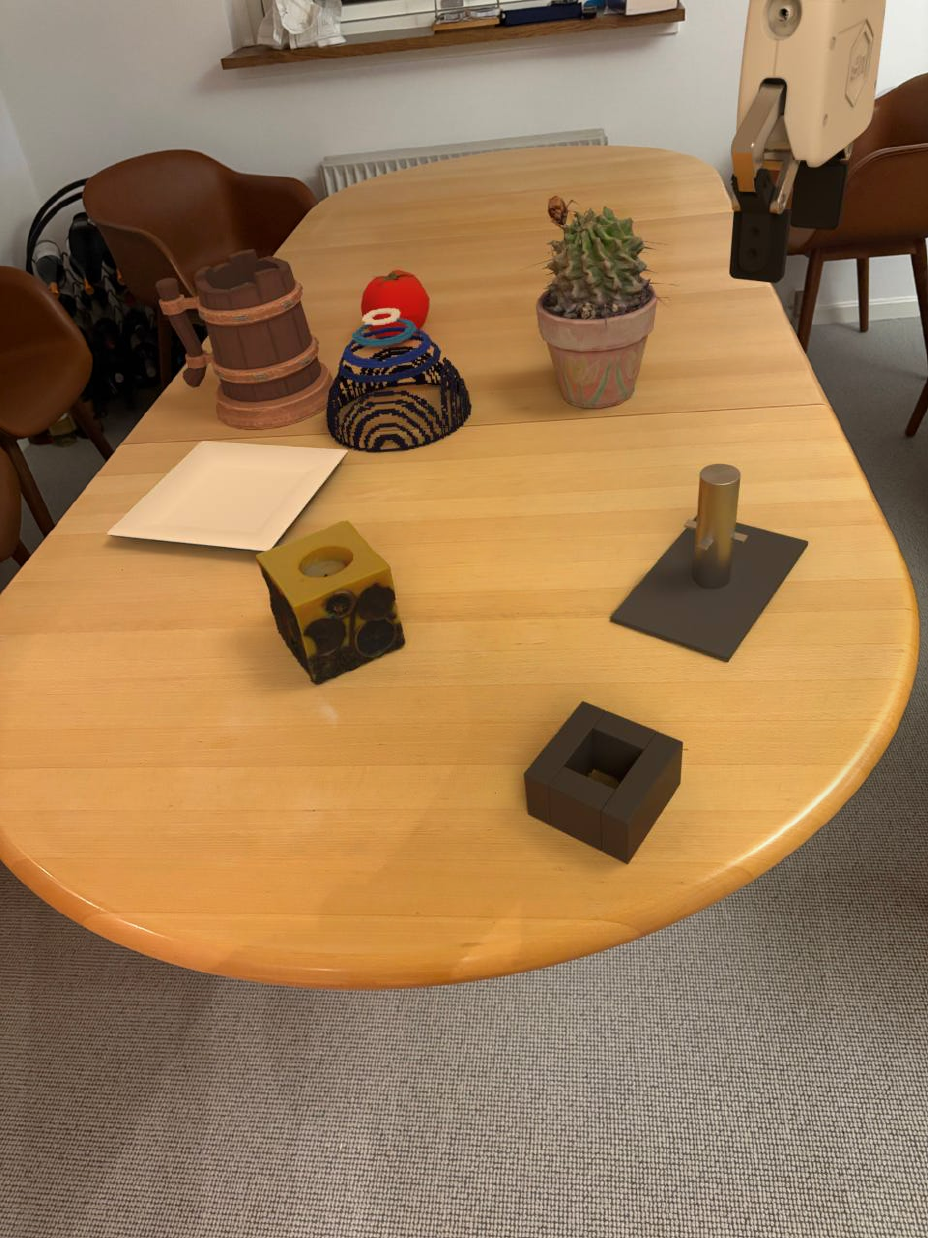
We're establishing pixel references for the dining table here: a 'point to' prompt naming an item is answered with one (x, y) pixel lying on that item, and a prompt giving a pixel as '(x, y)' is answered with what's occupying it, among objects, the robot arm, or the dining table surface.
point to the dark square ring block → (594, 807)
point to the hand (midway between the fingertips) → (786, 251)
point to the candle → (332, 601)
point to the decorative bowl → (394, 385)
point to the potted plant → (596, 307)
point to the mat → (710, 592)
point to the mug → (251, 341)
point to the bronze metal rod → (716, 525)
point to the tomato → (396, 300)
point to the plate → (230, 495)
